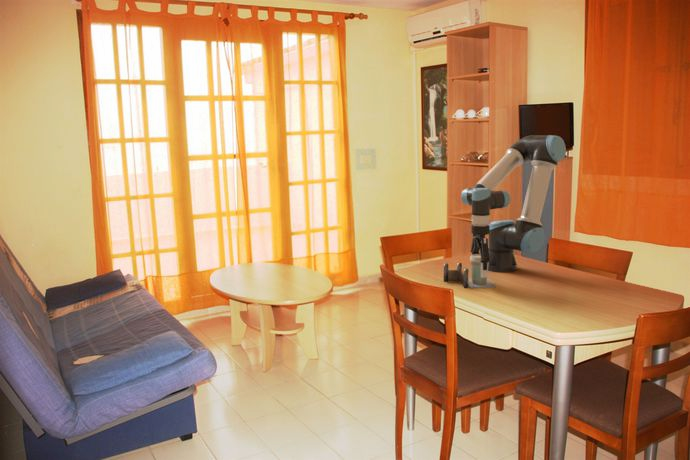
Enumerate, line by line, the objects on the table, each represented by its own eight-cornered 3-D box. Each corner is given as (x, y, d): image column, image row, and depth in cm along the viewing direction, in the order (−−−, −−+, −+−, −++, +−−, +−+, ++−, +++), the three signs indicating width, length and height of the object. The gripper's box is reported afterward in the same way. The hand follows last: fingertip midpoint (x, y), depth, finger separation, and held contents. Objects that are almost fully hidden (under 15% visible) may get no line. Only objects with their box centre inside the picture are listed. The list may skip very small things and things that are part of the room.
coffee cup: (488, 280, 261) (488, 253, 258) (490, 285, 252) (491, 258, 250) (468, 280, 261) (468, 253, 259) (470, 285, 253) (470, 258, 251)
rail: (460, 280, 264) (461, 262, 263) (468, 288, 252) (469, 269, 250) (443, 280, 264) (443, 263, 263) (450, 288, 251) (450, 270, 250)
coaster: (488, 280, 263) (488, 279, 262) (495, 287, 252) (495, 286, 252) (463, 281, 262) (463, 280, 262) (470, 288, 251) (470, 286, 251)
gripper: (464, 220, 264) (463, 266, 268) (480, 229, 240) (479, 281, 243) (480, 219, 265) (479, 266, 268) (498, 229, 240) (497, 280, 244)
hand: (479, 273), depth 256 cm, fingers open, 13 cm apart
